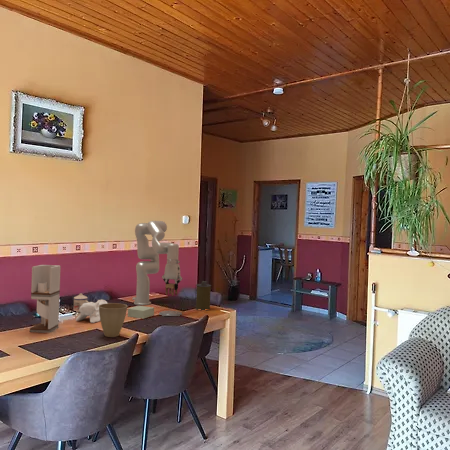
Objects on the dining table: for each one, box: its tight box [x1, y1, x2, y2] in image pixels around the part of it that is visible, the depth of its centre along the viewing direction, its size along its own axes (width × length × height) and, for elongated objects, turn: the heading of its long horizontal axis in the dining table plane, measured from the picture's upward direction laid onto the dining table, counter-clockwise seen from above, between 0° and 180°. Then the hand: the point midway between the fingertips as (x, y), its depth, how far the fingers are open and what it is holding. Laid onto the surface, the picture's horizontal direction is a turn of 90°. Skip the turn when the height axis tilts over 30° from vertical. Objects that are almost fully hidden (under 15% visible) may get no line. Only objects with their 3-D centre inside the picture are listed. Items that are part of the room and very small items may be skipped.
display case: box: [29, 264, 61, 334], centre depth 234 cm, size 11×11×35 cm
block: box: [127, 305, 155, 319], centre depth 277 cm, size 12×12×5 cm
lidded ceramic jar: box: [72, 293, 90, 313], centre depth 284 cm, size 12×9×12 cm
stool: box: [165, 282, 178, 297], centre depth 284 cm, size 6×6×7 cm
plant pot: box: [99, 302, 128, 338], centre depth 228 cm, size 15×15×16 cm
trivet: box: [158, 310, 183, 317], centre depth 284 cm, size 15×15×1 cm
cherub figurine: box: [75, 299, 108, 324], centre depth 262 cm, size 13×12×20 cm
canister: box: [195, 280, 212, 311], centre depth 306 cm, size 11×10×20 cm
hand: (171, 288), depth 284 cm, fingers closed on stool, 6 cm apart
